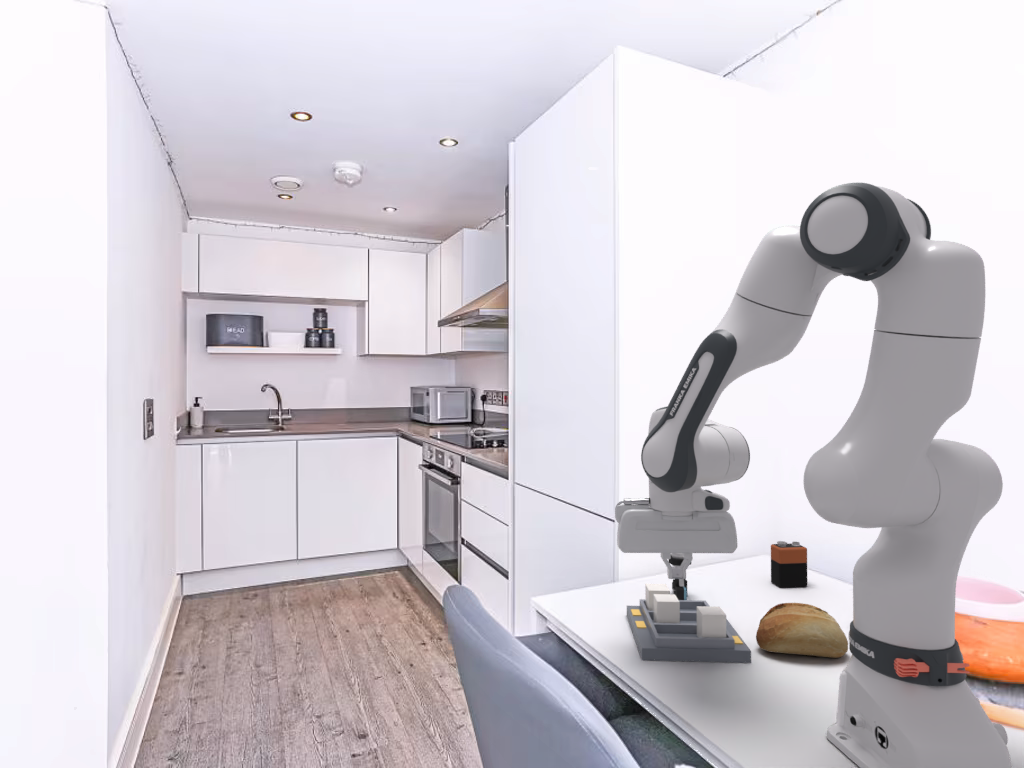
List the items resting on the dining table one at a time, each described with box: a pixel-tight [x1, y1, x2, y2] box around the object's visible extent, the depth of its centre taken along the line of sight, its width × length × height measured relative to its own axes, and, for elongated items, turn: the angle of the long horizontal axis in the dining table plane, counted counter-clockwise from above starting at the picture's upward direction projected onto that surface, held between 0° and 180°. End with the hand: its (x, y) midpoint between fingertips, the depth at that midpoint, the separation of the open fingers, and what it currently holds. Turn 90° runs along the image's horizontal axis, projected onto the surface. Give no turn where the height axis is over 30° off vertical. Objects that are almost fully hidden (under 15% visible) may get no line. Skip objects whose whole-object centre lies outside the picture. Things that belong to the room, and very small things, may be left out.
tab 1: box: [644, 583, 671, 611], centre depth 117 cm, size 4×4×5 cm
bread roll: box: [755, 602, 849, 659], centre depth 105 cm, size 10×15×8 cm, turn 85°
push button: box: [668, 553, 693, 600], centre depth 133 cm, size 7×5×10 cm
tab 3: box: [697, 605, 727, 638], centre depth 105 cm, size 4×4×5 cm
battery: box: [770, 540, 808, 589], centre depth 140 cm, size 4×7×10 cm, turn 96°
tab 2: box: [653, 593, 680, 623], centre depth 111 cm, size 4×4×5 cm
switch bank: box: [626, 598, 752, 664], centre depth 111 cm, size 20×18×4 cm
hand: (676, 578), depth 105 cm, fingers closed
